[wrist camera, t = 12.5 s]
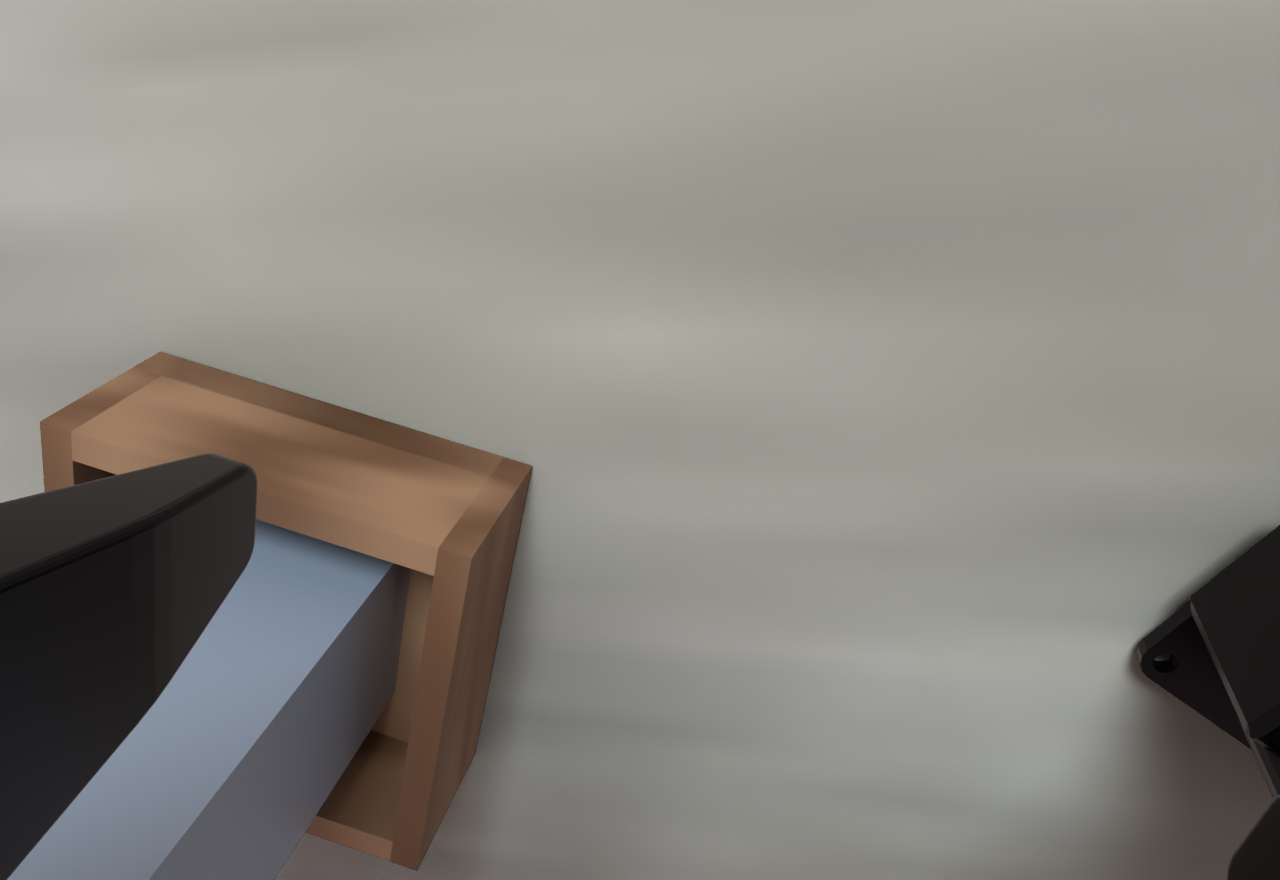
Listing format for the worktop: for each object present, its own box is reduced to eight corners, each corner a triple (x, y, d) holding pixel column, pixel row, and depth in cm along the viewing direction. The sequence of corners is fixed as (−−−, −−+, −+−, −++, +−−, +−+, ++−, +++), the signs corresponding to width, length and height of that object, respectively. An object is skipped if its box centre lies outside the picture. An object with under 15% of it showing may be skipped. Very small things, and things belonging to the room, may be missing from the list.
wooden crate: (532, 465, 24) (471, 558, 20) (475, 754, 28) (417, 870, 25) (160, 351, 25) (39, 421, 21) (161, 649, 29) (62, 748, 26)
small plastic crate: (415, 535, 24) (52, 1003, 14) (394, 693, 26) (71, 1195, 16) (218, 474, 25) (-281, 882, 14) (215, 634, 27) (-214, 1086, 16)
